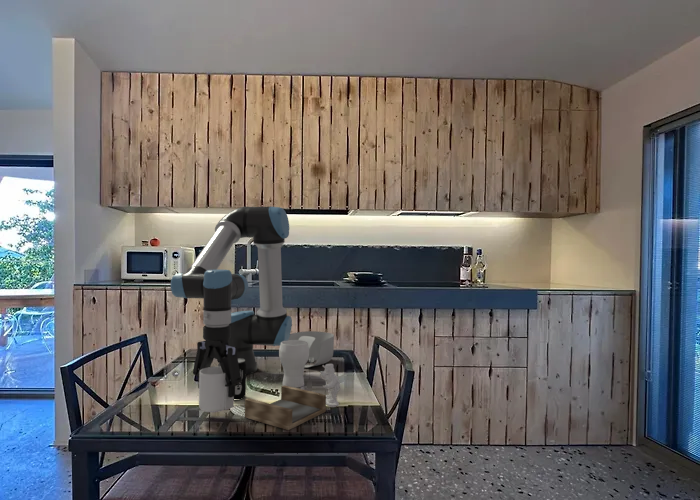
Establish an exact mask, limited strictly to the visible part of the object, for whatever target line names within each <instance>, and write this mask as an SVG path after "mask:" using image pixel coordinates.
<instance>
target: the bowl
mask: <svg viewBox="0 0 700 500" xmlns="http://www.w3.org/2000/svg"><path fill="white" fill-rule="evenodd" d="M288 340H302V341H306V342H308V347H309V357H308V362H309V363H310V364H306V365H305V367H304V368H311V367H317V366H321V365H324V364H328V362H330V361H332V358H333V356H334V351H335V350H334V348H335V347H334V345H335V343H334V342H335V334H334V333H330V332H326V331H318V330H317V331H314V330H312V331H311V330H309V331H297V332H294V333H290V336H289V339H288ZM312 363H314V364H312Z"/></svg>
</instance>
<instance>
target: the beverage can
mask: <svg viewBox="0 0 700 500" xmlns="http://www.w3.org/2000/svg"><path fill="white" fill-rule="evenodd" d="M238 364H239V370H240V376H241V382H240V383H238V384H236V385H235V396H234V399H241V398H243V397H244V398H245V397H246V393H247V392H246V387H247V386H246V385H247V374H246V363H245V359H241V358H238ZM230 381H231V379H230ZM244 398H243V399H244ZM241 400H242V399H241Z"/></svg>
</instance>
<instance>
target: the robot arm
mask: <svg viewBox="0 0 700 500" xmlns="http://www.w3.org/2000/svg"><path fill="white" fill-rule="evenodd" d="M289 235H290V222H289V217H288V215H287V213H286V210H285V209H284V208H283V207H280V206H279V207H278V206H241V207H238V208H234V209H233V210H232V211H230V212H228V213H227V214H225V215H224V216H223V217H222V218H220V220H219V221H218V222H217V224H216V225H215V228H214V233H213V234H212V236H211V237H210V239H208V242H206V244H205V245H204V247H203V248H202V250H201V251H200V252H199V254H198V255H197V257H196V258H195V260H194V261H193V262H192V264H191V265H190V266H189V268H188V269H187V270H186V272H180V273H178V272H177V273H176V274H175V273H174V275H173V276H172V278H171V280H170V291H171V294H172V295H173V296H174V297H175V298H182V299H203V313H202V315H203V321H202V324H203V327H202V339H203V340H201V341H197V342H196V343H197V344H196V346H197V347H196V356H195V361H194V365H193V370H192V374H193V375H194V376H196V377H197V379H198V380H197V381H198V383H197V385H198V386H197V387H198V389H199V372H200V370H201V369H204V368H207V367H212V363H213V362H214V359H215V360H216V361H217V362H218V364H217V366H221V368H222V371H223V373H225V380H226V383H227V384H226V385H225V390H224V409H225V410H226V411H227V410H230V409H232V408H234V404H235V403H234V401H235V400H234V396H235V385H236V384H238V383H240V382H241V376H240V370H239V364H238V358H241V359H245V363H246V375H250V374H252V373H255V372H257V370H258V363H257V361H256V356H255V353H254V345H255V346H271V347H277V346H278V347H280V344H281V342H283V341H287V340H288V339H289V336H290V334H292V333H291V332H292V325H293V319H292V317H291V316H290V315H287V314H288V313H287V311H288V310H287V309H286V308H285V307H284V306H283V284H282V283H283V282H282V281H283V279H282V278H283V276H282V274H283V273H282V252H281V251H282V249H281V248H282V246H283V244H285V241H286V239H287V238H289ZM242 238H243V239H245V238H252V239H253V240H252V241H253V244H254V246H256V247H257V257H258V258H257V260H258V262H257V263H258V264H257V265H258V283H259V285H258V288H259V308H258V310H257V311H256V314H255V312H254V310H241V311H234V312H232V301H233V300H238V299H240V298H241V297H243V296H245V295H246V294H247V292H248V290H249V282H248V279H247V278H246V277H245V276H244V275H242V274H241V273H232V271H231V270H230V269H219V268H220V266H221V264H222V263H223V261H224V259H225V258H226V256H227V255H228V253H229V251H230V250H231V248H232V247H233V245H234V244H235V243H238V242H239V241H240V239H242ZM230 379H231V381H230ZM225 410H224V411H225Z"/></svg>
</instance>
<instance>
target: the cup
mask: <svg viewBox="0 0 700 500" xmlns="http://www.w3.org/2000/svg"><path fill="white" fill-rule="evenodd" d="M278 357H279V361H280V364H281V366H282V368H283V379H282V383H281V384H282V385H281V386H284V385H285V386H289V387H294V388H301V387H303V386H305V378H304V371H305V368H306V367H305V365H307V362H309V360H308V357H309V347H308V342H306V341H302V340H287V341H283V342H281V344H280V346H279V349H278Z"/></svg>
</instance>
